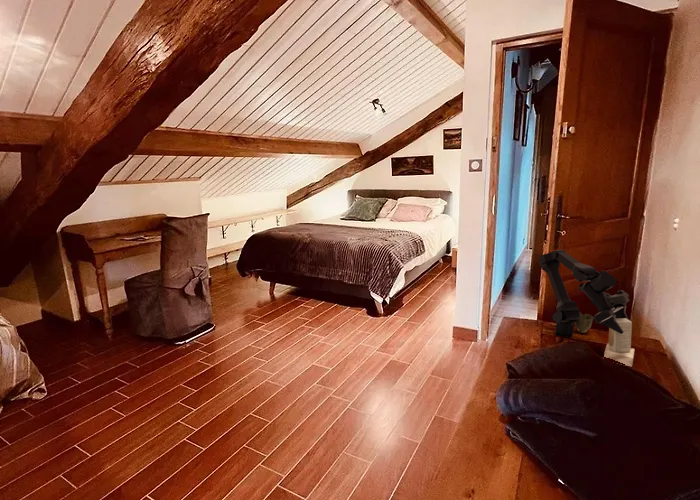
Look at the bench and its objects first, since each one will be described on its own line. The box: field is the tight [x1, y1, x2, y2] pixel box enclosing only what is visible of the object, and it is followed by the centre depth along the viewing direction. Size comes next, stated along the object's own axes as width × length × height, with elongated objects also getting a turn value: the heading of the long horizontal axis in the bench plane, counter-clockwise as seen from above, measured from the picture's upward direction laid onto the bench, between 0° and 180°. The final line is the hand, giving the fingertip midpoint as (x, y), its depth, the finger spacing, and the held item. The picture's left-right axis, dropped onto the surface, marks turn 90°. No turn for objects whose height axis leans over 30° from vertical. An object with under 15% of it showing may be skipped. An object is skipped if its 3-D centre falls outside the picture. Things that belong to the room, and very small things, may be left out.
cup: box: [573, 312, 594, 334], centre depth 176 cm, size 8×7×8 cm
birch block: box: [603, 342, 635, 368], centre depth 152 cm, size 9×9×4 cm
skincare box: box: [608, 318, 633, 352], centre depth 151 cm, size 6×4×12 cm
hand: (626, 329), depth 149 cm, fingers open, 9 cm apart
